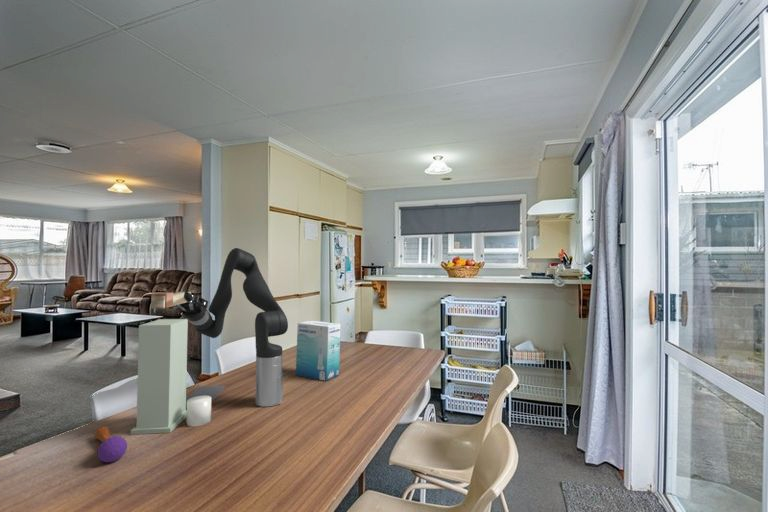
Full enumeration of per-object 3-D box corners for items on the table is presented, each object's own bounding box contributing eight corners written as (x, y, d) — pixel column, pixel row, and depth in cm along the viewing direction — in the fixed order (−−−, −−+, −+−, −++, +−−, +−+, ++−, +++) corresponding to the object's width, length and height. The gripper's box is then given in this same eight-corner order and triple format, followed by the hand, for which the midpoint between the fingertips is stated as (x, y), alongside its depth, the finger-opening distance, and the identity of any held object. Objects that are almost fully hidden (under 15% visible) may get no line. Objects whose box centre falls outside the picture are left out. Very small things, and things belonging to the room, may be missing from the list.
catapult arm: (192, 301, 128) (192, 289, 128) (165, 308, 108) (165, 293, 108) (179, 301, 128) (179, 289, 128) (149, 308, 108) (150, 293, 108)
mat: (224, 387, 144) (224, 385, 144) (204, 409, 123) (204, 406, 123) (199, 388, 143) (199, 386, 143) (173, 410, 121) (173, 408, 121)
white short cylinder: (214, 416, 117) (214, 395, 117) (206, 425, 110) (206, 403, 110) (191, 417, 116) (192, 396, 116) (182, 427, 109) (183, 404, 109)
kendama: (116, 420, 105) (131, 437, 91) (112, 442, 104) (126, 463, 90) (91, 422, 101) (103, 441, 87) (86, 445, 99) (97, 467, 86)
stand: (190, 413, 119) (192, 318, 120) (170, 432, 105) (172, 325, 106) (155, 414, 118) (157, 319, 119) (130, 434, 104) (133, 325, 105)
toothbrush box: (340, 375, 161) (340, 322, 162) (327, 381, 152) (327, 325, 153) (309, 370, 169) (310, 319, 170) (295, 376, 160) (295, 322, 161)
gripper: (179, 304, 138) (160, 284, 124) (216, 303, 140) (202, 284, 125) (174, 322, 134) (154, 303, 120) (213, 321, 136) (198, 303, 121)
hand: (179, 293), depth 123 cm, fingers closed on catapult arm, 3 cm apart
